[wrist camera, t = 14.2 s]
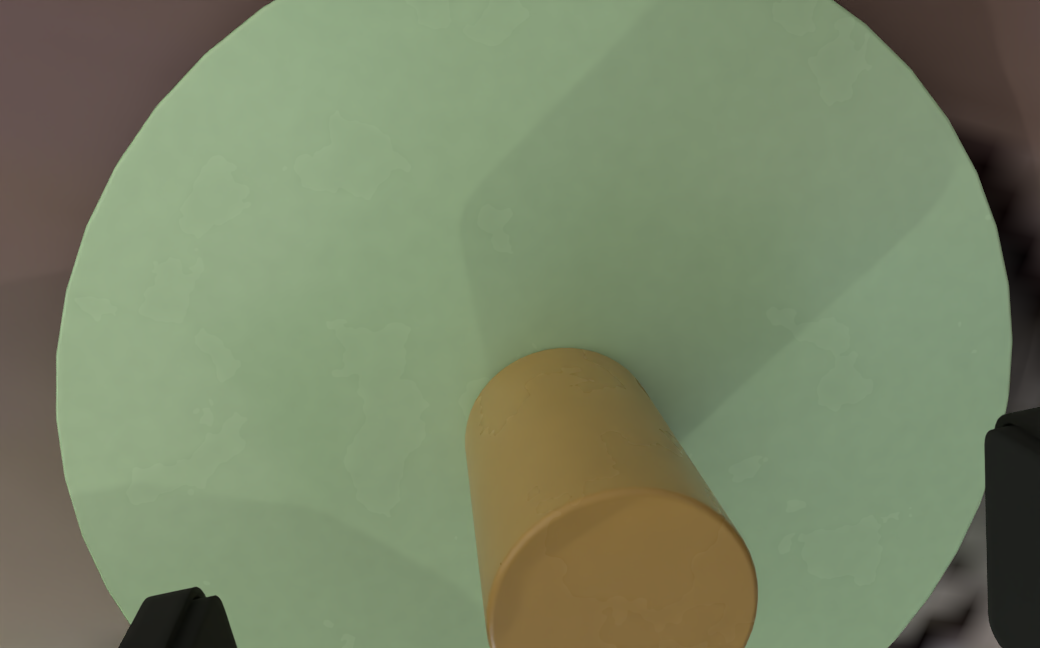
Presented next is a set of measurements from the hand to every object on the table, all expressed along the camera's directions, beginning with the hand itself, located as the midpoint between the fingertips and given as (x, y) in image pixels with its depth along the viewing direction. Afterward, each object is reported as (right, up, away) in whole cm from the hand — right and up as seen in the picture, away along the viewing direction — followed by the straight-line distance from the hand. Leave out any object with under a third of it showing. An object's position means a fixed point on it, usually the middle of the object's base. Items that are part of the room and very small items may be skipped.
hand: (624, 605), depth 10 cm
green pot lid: (-1, +2, +4) cm, 4 cm away
